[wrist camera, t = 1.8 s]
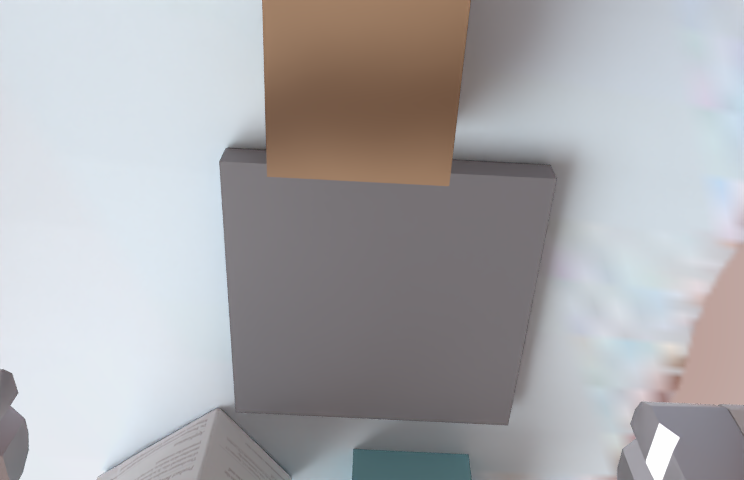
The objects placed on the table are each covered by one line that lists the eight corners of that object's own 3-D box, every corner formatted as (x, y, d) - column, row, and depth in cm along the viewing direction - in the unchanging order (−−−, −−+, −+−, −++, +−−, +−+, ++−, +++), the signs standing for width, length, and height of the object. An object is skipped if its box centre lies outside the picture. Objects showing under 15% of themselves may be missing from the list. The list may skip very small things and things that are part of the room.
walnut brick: (285, -44, 23) (261, -14, 19) (455, -35, 23) (471, -2, 19) (286, 117, 26) (267, 176, 21) (438, 125, 26) (449, 186, 22)
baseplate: (225, 148, 26) (219, 161, 25) (550, 164, 26) (556, 178, 25) (240, 393, 32) (235, 412, 31) (504, 406, 32) (507, 425, 31)
